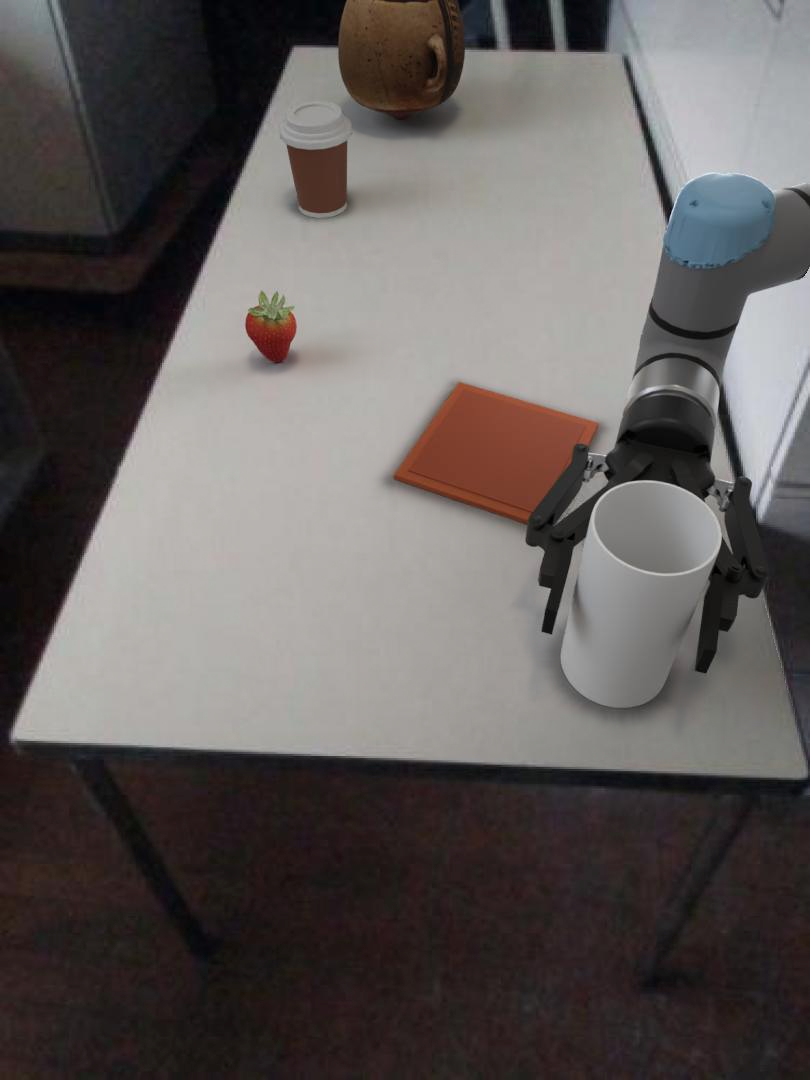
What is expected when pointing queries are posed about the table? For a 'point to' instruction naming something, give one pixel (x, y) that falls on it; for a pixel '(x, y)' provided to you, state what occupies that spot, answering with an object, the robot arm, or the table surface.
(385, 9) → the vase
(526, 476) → the mat
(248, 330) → the fruit
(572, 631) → the cup
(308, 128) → the coffee cup
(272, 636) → the table surface
